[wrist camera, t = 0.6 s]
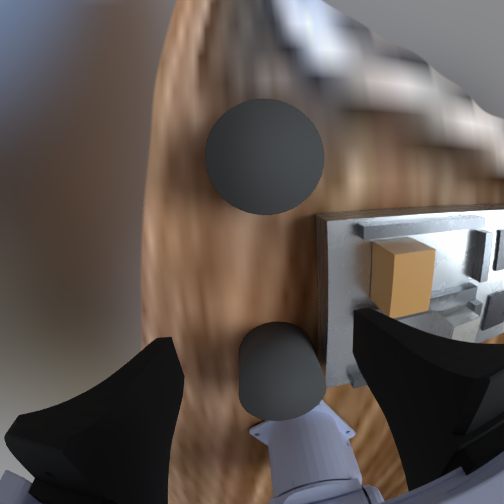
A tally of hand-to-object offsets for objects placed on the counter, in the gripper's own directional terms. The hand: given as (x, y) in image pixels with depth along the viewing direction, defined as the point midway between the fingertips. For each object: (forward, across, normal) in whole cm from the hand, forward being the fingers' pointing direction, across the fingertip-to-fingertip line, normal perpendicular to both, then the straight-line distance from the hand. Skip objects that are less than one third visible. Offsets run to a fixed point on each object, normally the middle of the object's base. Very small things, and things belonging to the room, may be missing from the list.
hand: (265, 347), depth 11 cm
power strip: (+10, -17, +4) cm, 21 cm away
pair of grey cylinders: (+10, -1, 0) cm, 10 cm away
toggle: (+7, -9, +1) cm, 12 cm away
